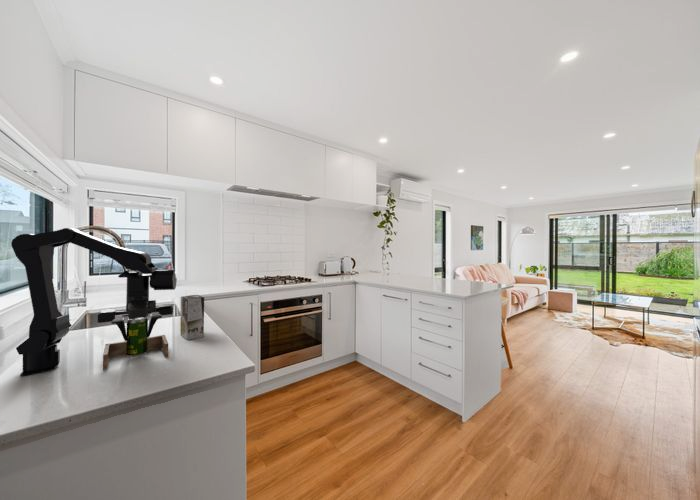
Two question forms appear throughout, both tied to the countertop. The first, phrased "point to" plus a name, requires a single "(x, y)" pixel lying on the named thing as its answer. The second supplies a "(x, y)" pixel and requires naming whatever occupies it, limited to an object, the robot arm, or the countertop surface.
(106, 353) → the wooden u-shaped frame
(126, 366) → the countertop surface
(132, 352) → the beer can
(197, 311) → the coffee box
